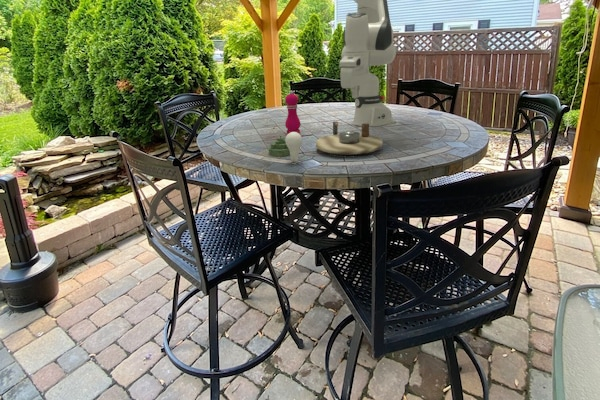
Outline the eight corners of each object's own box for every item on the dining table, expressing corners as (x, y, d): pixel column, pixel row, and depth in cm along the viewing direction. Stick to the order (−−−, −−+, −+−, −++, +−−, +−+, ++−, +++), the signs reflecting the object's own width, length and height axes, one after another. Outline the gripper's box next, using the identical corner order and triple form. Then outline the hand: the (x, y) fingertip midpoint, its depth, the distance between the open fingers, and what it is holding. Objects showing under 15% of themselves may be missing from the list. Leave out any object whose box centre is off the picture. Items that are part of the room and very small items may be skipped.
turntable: (359, 134, 162) (359, 119, 160) (396, 147, 140) (397, 130, 138) (305, 142, 153) (304, 126, 151) (335, 158, 131) (335, 140, 129)
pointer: (328, 139, 164) (327, 121, 161) (338, 138, 165) (338, 120, 162) (332, 142, 159) (331, 123, 156) (343, 141, 160) (343, 122, 157)
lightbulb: (292, 158, 139) (291, 129, 135) (306, 160, 136) (305, 131, 132) (283, 163, 135) (281, 133, 130) (296, 165, 131) (295, 134, 127)
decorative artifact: (297, 150, 150) (274, 149, 153) (296, 133, 147) (273, 132, 150) (289, 157, 141) (265, 156, 144) (288, 139, 138) (263, 138, 141)
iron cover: (353, 138, 151) (353, 128, 149) (363, 142, 144) (363, 132, 142) (335, 140, 148) (335, 131, 146) (345, 145, 141) (345, 135, 140)
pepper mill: (299, 135, 173) (297, 91, 165) (284, 135, 174) (281, 91, 167) (302, 132, 179) (300, 89, 172) (287, 132, 181) (285, 89, 173)
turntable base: (357, 140, 159) (357, 137, 159) (384, 151, 142) (384, 147, 142) (315, 147, 152) (315, 143, 152) (339, 159, 135) (339, 155, 135)
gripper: (359, 58, 150) (358, 93, 156) (337, 62, 134) (337, 101, 140) (373, 58, 147) (372, 94, 153) (353, 61, 131) (353, 101, 136)
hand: (355, 97), depth 146 cm, fingers closed
